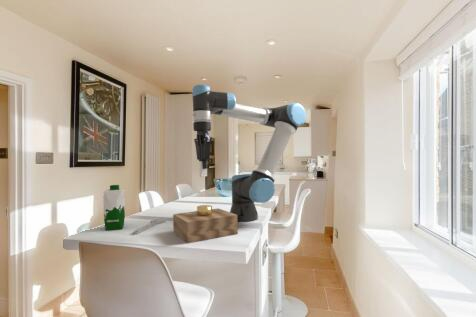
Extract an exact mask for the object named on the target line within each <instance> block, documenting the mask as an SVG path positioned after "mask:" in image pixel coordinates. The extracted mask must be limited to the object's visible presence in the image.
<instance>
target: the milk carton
mask: <svg viewBox="0 0 476 317" xmlns="http://www.w3.org/2000/svg"><path fill="white" fill-rule="evenodd" d="M102 199H103V219H104V230H105V231H118V230H119V231H120V230H123V228H124V226H125V220H126V219H125V218H126V212H125V211H126V210H125V209H126V207H125V206H126V205H125V203H126V202H125V201H126V199H125V189H124V188H120V185H119V184H112V185H109V189H106V190H104V191H103V198H102Z"/></svg>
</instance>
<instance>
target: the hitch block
mask: <svg viewBox="0 0 476 317" xmlns="http://www.w3.org/2000/svg"><path fill="white" fill-rule="evenodd" d="M172 218H173V220H172V221H173V223H172V224H173V234H175V235H176V236H178V237H179V238H180V239H182V240H183V241H184V242H186V243H187V244H190V243H191V244H192V243H197V242H203V241H207V240H212V239H217V238H223V237H230V236H235V235H238V234H239V233H238V232H239V230H238V228H239V227H238V226H239V224H238V222H239V221H238V220H237V215H236V214H233V213H230V211H228V210H223V209H221V208H212V215H210V216H198V215H197V210H194V211H188V212H187V211H186V212H181V213H174V214H172Z"/></svg>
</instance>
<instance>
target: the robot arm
mask: <svg viewBox="0 0 476 317" xmlns="http://www.w3.org/2000/svg"><path fill="white" fill-rule="evenodd" d="M191 95H192V96H191V97H192V118H193V121H194V122H193V123H192V125H193V131H194V132H196V138H194V139H193V141H194V143H195V145H194V146H195V152H196V160H198V162H199V177H200V178H201V177H208V160H210V156H211V155H210V154H211V143H212V138H213V137H212V136H209V132H210V131H211V130H212V123H211V121H212V115H218V116H223V117H229V118H234V119H239V120H245V121H250V122H255V123H259V124H260V125H261V126H266V127H270V128H274V131H273V132H272V136H271V137H270V140H269V142H268V144H267V147H266V149H265V150H264V153H263V155H262V158H261V159H260V162H259V164H258V166H257V168H255V169H253V170H252V172H251V173H244V174H243V173H241V174H235V175H233V176H232V177H231V182H230V184H231V206H230V210H229V212H230V213H233V214H236V215H237V220H238V222H240V223H241V222H252V221H256V220H258V219H259V214H258V211H257V207H256V204H255V203H258V204H259V203H260V204H265V203H268V202H269V201H270V200H271V199H273V197H274V195H275V192H276V188H275V184H274V183H275V180H276V179H275V177H274V176H275V173H276V171H277V169H278V166H279V164H280V163H281V162H280V161H281V159H282V157H283V155H284V152H285V151H286V148H287V146H288V143H289V141H290V139H291V136H292V135H295V134H296V132H297V130H298V127H300V126H303V125H304V124H305V123H306V120H307V113H306V110H305V107H303V106H302V104H300V103H298V102H293V103H291V102H290V103H289V104H285V105H281V106H277V107H265V106H264V107H263V108H260V107H256V106H252V105H245V104H242V103H237V99H236V95H235V94H234V93H231V92H224V91H213V90H211V87H210V85H208V84H196V85H194V86H192V94H191Z"/></svg>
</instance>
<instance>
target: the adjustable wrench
mask: <svg viewBox="0 0 476 317" xmlns="http://www.w3.org/2000/svg"><path fill="white" fill-rule="evenodd" d="M166 222H167V219H166V218H163V219H158V218H154V219H153V220H152V219H151V220H150V223H148V224H146V225H144V226H141V227H139V228H137V229H135V230H133V231H132V235H139V234H142V233H144V232H145V231H147V230H149V229H151V228H153V227H155V226H158V225H160V224H164V223H166Z"/></svg>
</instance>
